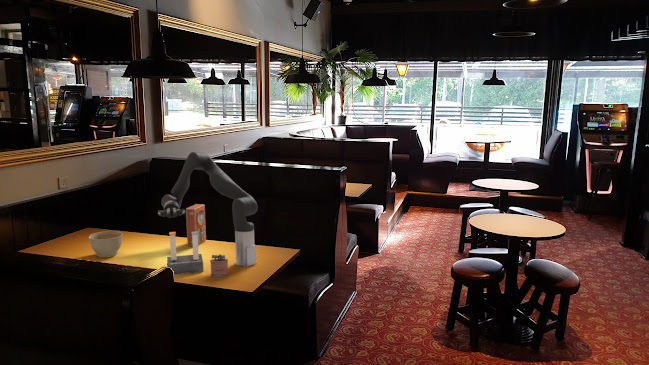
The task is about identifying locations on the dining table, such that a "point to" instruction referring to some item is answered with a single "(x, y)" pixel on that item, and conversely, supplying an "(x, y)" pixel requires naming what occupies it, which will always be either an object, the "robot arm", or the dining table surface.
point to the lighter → (219, 266)
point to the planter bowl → (106, 243)
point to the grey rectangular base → (185, 264)
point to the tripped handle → (173, 245)
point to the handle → (195, 245)
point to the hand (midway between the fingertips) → (171, 216)
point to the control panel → (196, 223)
